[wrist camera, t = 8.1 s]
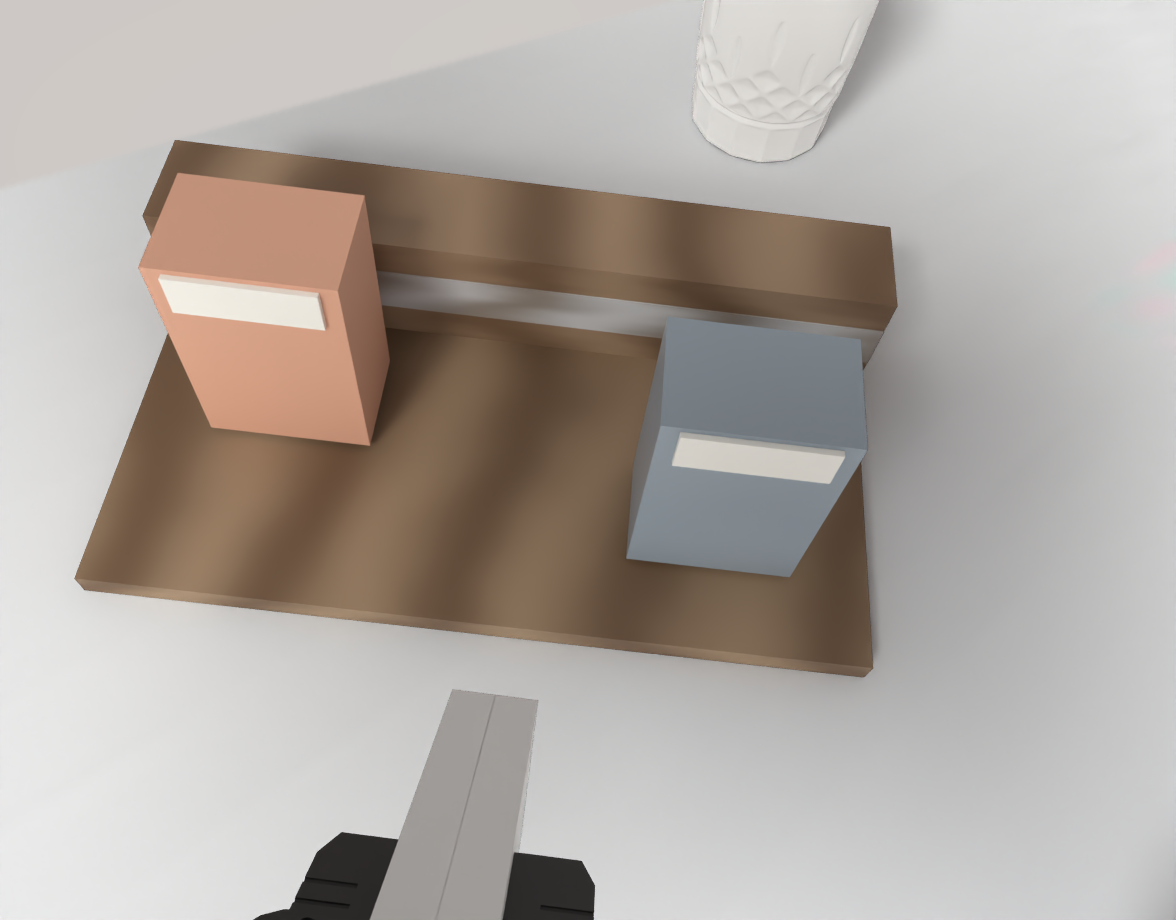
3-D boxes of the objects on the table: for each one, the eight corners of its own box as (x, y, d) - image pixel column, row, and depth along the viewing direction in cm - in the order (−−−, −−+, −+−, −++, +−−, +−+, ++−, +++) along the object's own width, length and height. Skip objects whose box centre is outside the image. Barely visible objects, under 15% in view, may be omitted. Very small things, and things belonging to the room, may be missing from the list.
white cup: (717, 46, 54) (758, -146, 45) (854, 101, 52) (924, -86, 44) (653, 133, 50) (685, -58, 41) (799, 195, 48) (864, 10, 40)
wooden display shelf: (84, 590, 36) (14, 511, 31) (212, 246, 44) (175, 140, 39) (863, 677, 36) (924, 615, 31) (844, 322, 45) (890, 227, 39)
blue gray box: (625, 563, 36) (660, 431, 29) (633, 464, 39) (667, 316, 31) (789, 582, 37) (868, 456, 29) (788, 482, 39) (861, 339, 31)
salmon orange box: (209, 431, 38) (136, 272, 30) (239, 342, 40) (177, 173, 32) (369, 450, 38) (336, 295, 30) (390, 360, 40) (364, 195, 32)
